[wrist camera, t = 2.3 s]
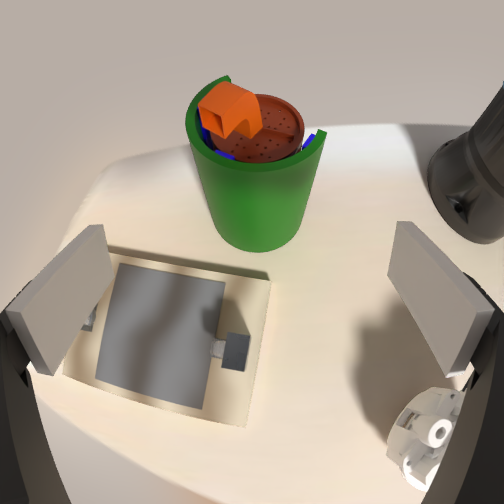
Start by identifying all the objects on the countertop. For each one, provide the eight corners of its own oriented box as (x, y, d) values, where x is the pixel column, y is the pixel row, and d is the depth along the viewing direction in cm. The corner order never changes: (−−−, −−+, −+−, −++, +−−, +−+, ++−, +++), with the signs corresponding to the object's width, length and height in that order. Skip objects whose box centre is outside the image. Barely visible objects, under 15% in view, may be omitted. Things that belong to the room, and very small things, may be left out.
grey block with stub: (251, 337, 30) (250, 335, 27) (245, 369, 30) (243, 372, 26) (219, 331, 31) (214, 329, 27) (213, 363, 30) (207, 364, 26)
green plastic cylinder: (312, 200, 36) (352, 63, 17) (279, 268, 34) (301, 160, 15) (233, 167, 38) (215, 26, 19) (196, 229, 35) (137, 103, 16)
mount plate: (271, 283, 33) (271, 280, 32) (246, 425, 29) (245, 428, 28) (94, 252, 35) (89, 248, 34) (67, 374, 30) (61, 374, 29)
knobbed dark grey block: (106, 306, 32) (90, 300, 28) (100, 334, 31) (83, 331, 27) (83, 299, 32) (65, 293, 28) (77, 327, 31) (59, 323, 27)
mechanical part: (427, 488, 25) (479, 523, 14) (357, 451, 27) (400, 490, 16) (478, 410, 28) (542, 419, 16) (415, 365, 30) (479, 365, 19)
